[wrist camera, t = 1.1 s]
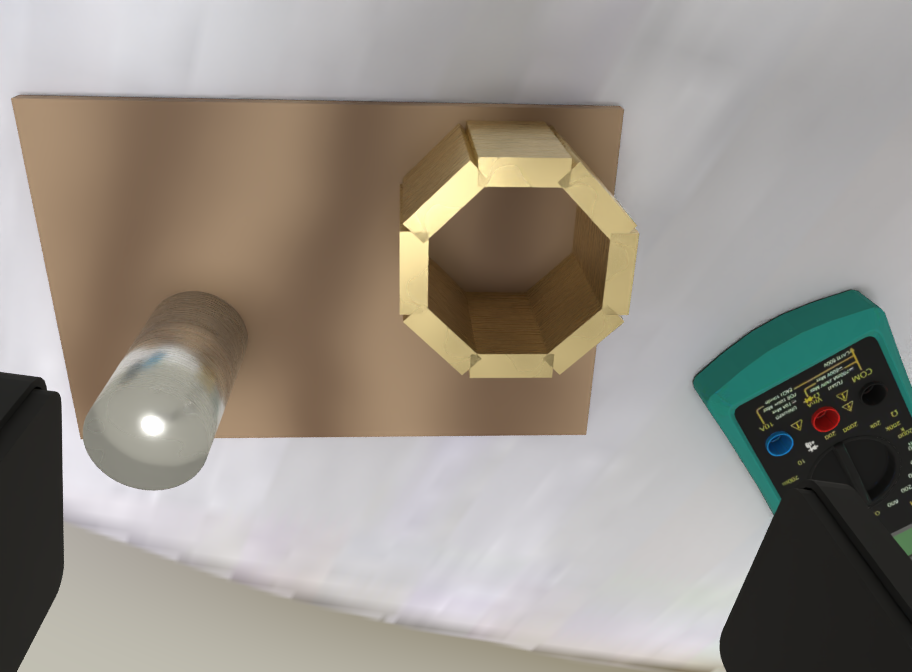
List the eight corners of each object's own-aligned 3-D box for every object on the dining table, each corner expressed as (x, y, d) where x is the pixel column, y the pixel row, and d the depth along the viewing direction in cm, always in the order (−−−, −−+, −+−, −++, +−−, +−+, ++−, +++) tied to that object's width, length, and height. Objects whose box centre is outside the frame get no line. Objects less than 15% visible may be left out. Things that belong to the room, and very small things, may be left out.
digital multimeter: (846, 269, 32) (886, 299, 29) (957, 518, 38) (999, 561, 35) (678, 362, 34) (702, 399, 31) (811, 588, 40) (840, 635, 37)
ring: (609, 122, 28) (649, 159, 23) (588, 312, 31) (620, 377, 27) (399, 119, 27) (399, 155, 23) (400, 312, 31) (399, 378, 26)
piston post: (243, 291, 30) (201, 386, 24) (251, 377, 31) (214, 489, 25) (142, 290, 30) (72, 387, 23) (155, 378, 31) (93, 491, 25)
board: (619, 106, 28) (624, 109, 28) (583, 426, 34) (585, 434, 33) (19, 94, 27) (11, 98, 26) (86, 430, 33) (80, 439, 32)
